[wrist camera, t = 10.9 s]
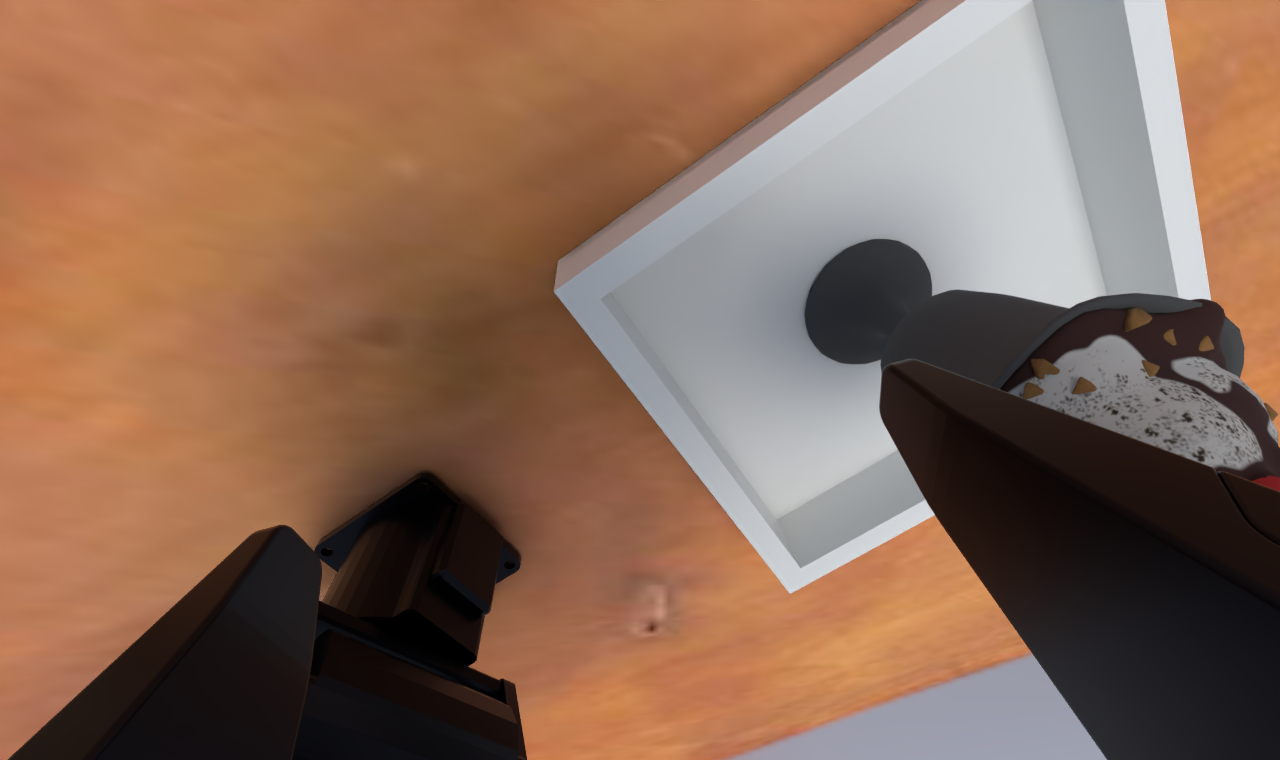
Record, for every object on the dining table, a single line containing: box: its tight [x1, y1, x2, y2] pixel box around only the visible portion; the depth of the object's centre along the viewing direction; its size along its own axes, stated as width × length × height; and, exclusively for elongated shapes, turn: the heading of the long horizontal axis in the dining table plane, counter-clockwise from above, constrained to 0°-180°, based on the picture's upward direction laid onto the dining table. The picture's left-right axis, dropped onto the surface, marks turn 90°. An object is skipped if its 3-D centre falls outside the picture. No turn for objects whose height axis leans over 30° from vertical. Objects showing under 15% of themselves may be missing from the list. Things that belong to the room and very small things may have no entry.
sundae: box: [805, 239, 1280, 491], centre depth 14 cm, size 7×7×15 cm
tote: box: [554, 0, 1211, 594], centre depth 20 cm, size 18×16×4 cm
